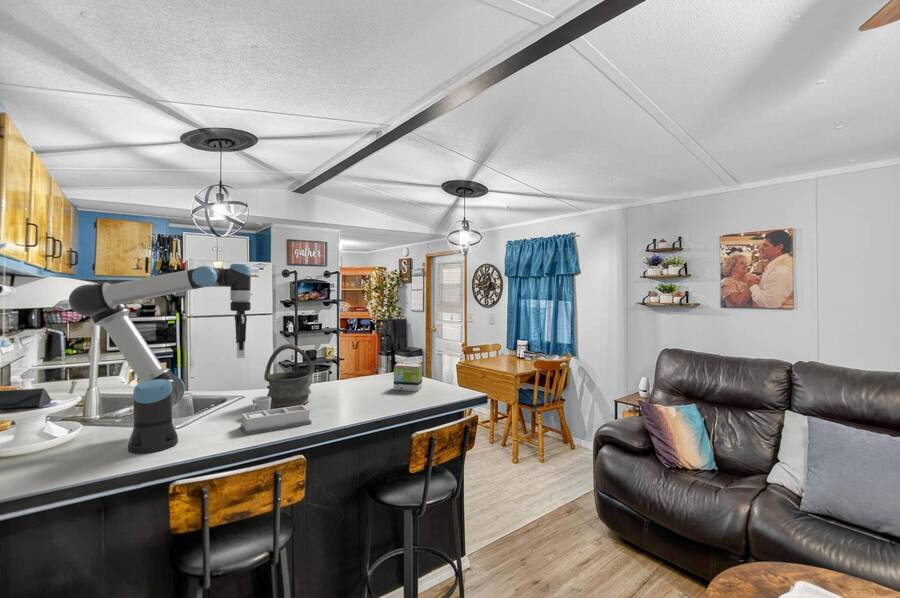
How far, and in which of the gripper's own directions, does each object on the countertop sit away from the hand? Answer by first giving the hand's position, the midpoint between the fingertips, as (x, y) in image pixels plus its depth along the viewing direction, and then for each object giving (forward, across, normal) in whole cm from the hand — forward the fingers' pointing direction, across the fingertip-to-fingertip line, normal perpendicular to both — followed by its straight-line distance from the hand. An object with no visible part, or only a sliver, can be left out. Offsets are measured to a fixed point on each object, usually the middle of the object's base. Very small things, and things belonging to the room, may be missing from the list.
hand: (240, 357), depth 177 cm
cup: (+30, +13, -10) cm, 34 cm away
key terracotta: (+27, -5, -21) cm, 34 cm away
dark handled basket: (+30, +29, -27) cm, 50 cm away
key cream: (+26, -5, -5) cm, 27 cm away
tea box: (+30, +23, -93) cm, 100 cm away
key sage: (+27, -5, -13) cm, 30 cm away
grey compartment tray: (+29, -5, -13) cm, 33 cm away
